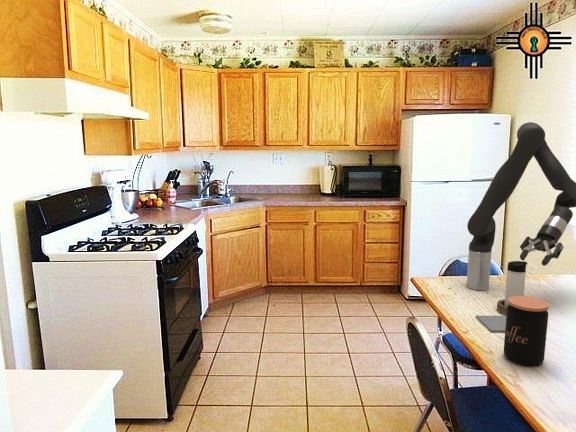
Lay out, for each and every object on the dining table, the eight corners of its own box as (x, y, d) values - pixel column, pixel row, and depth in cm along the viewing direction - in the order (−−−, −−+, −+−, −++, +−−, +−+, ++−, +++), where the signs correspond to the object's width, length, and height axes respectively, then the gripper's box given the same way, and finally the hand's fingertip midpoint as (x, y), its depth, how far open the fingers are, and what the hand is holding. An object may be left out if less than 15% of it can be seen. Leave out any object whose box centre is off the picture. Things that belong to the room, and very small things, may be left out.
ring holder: (491, 306, 171) (492, 299, 170) (520, 306, 170) (521, 299, 170) (505, 317, 159) (506, 310, 159) (536, 318, 159) (537, 310, 159)
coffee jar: (496, 351, 134) (500, 296, 131) (528, 349, 134) (533, 295, 132) (516, 369, 123) (522, 309, 120) (552, 367, 124) (558, 307, 121)
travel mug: (525, 315, 161) (530, 264, 158) (506, 314, 162) (510, 263, 159) (520, 309, 167) (524, 259, 164) (501, 308, 169) (505, 259, 165)
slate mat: (475, 317, 160) (475, 315, 160) (511, 317, 160) (511, 315, 159) (490, 332, 147) (491, 330, 147) (529, 332, 147) (529, 330, 147)
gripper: (531, 221, 174) (511, 252, 171) (567, 226, 162) (547, 260, 158) (538, 232, 177) (518, 263, 174) (574, 239, 165) (554, 272, 162)
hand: (532, 261), depth 166 cm, fingers open, 8 cm apart
